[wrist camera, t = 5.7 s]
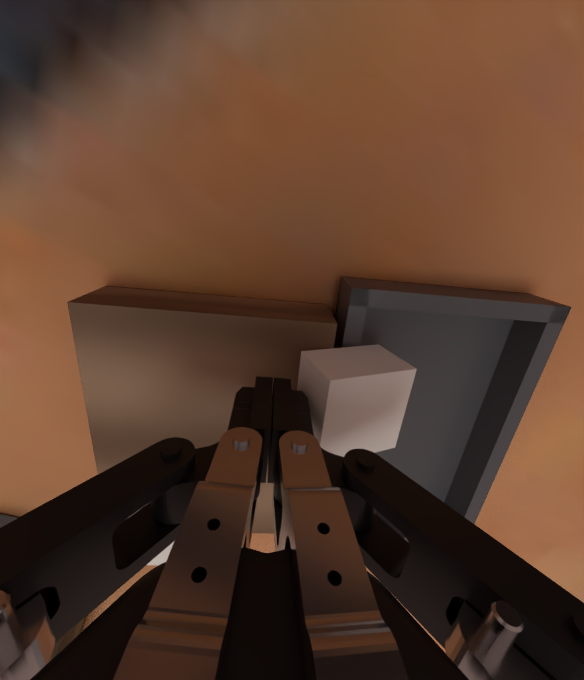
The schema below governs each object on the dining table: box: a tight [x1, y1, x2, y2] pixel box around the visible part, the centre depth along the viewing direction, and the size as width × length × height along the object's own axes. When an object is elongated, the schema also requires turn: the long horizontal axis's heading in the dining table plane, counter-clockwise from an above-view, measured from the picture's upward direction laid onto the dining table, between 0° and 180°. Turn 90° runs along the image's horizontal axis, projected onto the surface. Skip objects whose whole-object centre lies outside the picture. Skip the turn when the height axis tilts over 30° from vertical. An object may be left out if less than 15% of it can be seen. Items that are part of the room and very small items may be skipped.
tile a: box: [297, 344, 417, 457], centre depth 14 cm, size 4×4×2 cm
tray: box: [334, 277, 571, 543], centre depth 18 cm, size 16×10×2 cm, turn 174°
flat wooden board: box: [67, 286, 337, 534], centre depth 17 cm, size 13×11×3 cm
